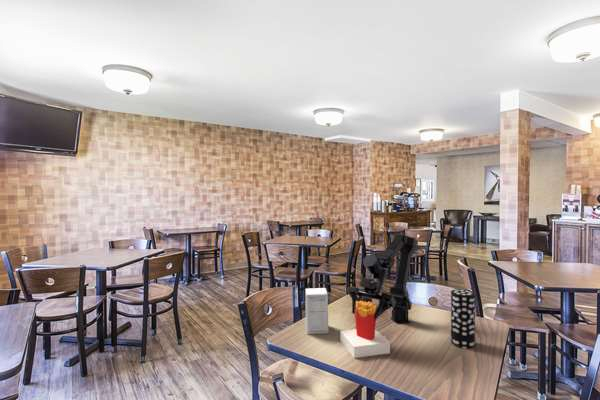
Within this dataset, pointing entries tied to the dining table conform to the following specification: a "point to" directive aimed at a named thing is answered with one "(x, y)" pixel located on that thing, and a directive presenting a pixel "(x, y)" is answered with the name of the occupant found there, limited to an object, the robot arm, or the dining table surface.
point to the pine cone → (365, 297)
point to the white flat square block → (364, 344)
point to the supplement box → (316, 311)
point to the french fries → (365, 319)
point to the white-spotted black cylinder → (463, 318)
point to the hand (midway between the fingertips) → (363, 316)
